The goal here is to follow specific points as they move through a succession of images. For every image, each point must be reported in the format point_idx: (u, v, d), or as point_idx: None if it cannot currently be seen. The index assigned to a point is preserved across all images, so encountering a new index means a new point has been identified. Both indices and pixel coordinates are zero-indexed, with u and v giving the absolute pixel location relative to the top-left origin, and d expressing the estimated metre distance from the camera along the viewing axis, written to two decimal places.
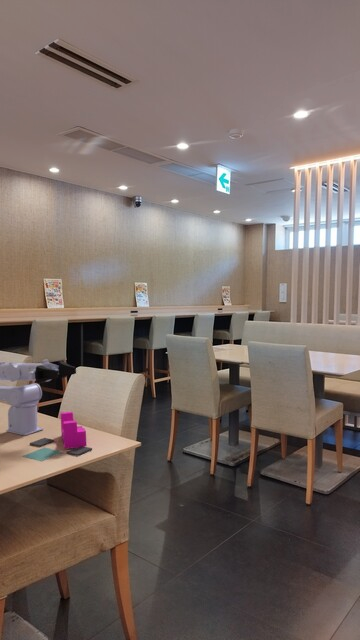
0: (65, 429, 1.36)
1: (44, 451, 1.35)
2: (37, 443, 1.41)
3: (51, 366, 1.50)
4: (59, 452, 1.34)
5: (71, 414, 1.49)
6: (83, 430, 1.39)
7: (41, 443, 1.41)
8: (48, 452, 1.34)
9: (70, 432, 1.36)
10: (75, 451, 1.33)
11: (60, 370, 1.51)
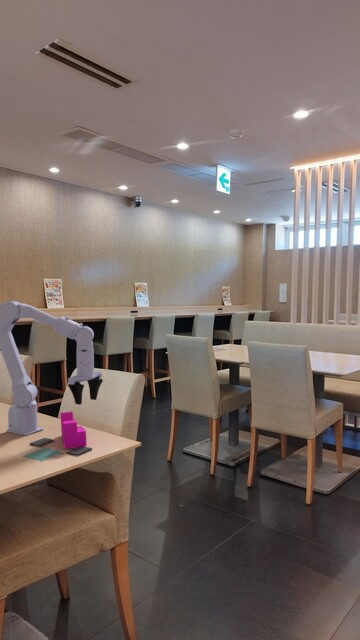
0: (65, 429, 1.36)
1: (44, 451, 1.35)
2: (37, 443, 1.41)
3: None
4: (59, 452, 1.34)
5: (71, 414, 1.49)
6: (83, 430, 1.39)
7: (41, 443, 1.41)
8: (48, 452, 1.34)
9: (70, 432, 1.36)
10: (75, 451, 1.33)
11: (92, 381, 1.59)
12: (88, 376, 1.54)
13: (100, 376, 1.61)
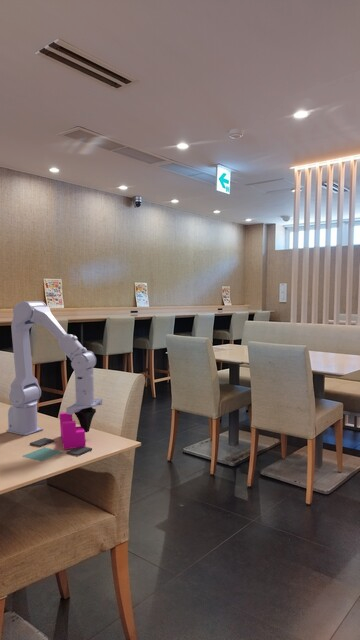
0: (64, 429, 1.36)
1: (44, 451, 1.35)
2: (37, 443, 1.41)
3: None
4: (59, 452, 1.34)
5: None
6: (82, 430, 1.38)
7: (41, 443, 1.41)
8: (48, 452, 1.34)
9: (69, 433, 1.36)
10: (75, 451, 1.33)
11: None
12: (88, 405, 1.45)
13: (100, 403, 1.53)
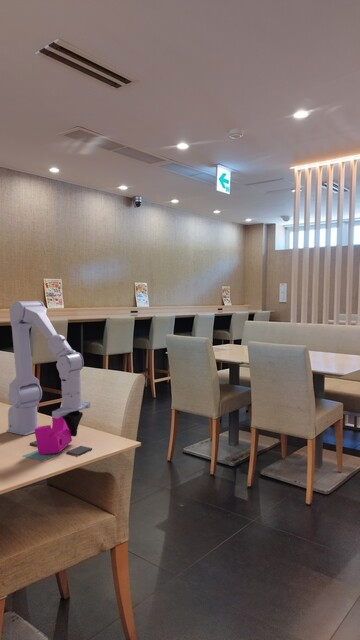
0: (37, 434, 1.32)
1: None
2: None
3: None
4: (59, 452, 1.34)
5: (62, 417, 1.44)
6: (56, 435, 1.33)
7: None
8: None
9: (42, 438, 1.32)
10: (75, 451, 1.33)
11: None
12: (74, 408, 1.39)
13: (88, 406, 1.47)
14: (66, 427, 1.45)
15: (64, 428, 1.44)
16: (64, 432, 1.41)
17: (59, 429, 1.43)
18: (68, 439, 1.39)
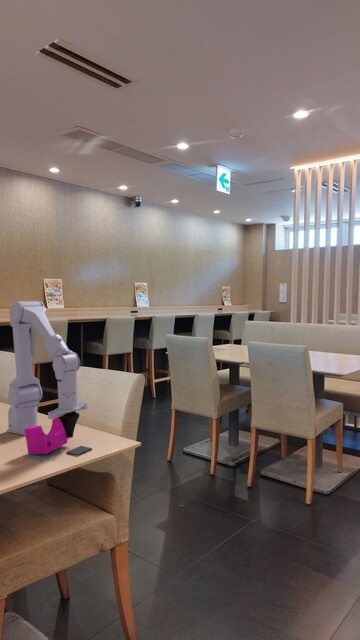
0: (26, 434, 1.32)
1: None
2: None
3: None
4: (59, 452, 1.34)
5: None
6: (44, 437, 1.31)
7: None
8: None
9: (31, 438, 1.32)
10: (75, 451, 1.33)
11: None
12: (71, 409, 1.38)
13: (85, 407, 1.46)
14: None
15: (62, 429, 1.42)
16: (59, 433, 1.39)
17: (57, 430, 1.42)
18: (61, 441, 1.37)
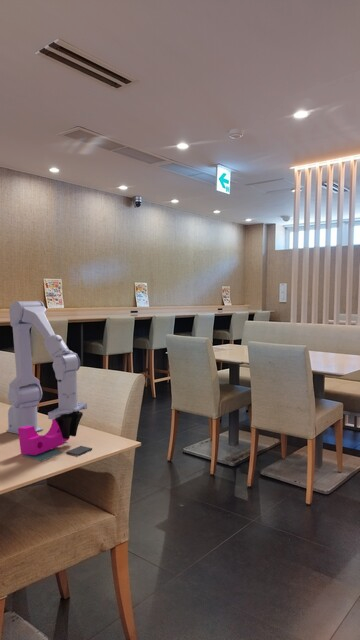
0: (19, 434, 1.33)
1: None
2: None
3: None
4: (59, 452, 1.34)
5: None
6: (35, 438, 1.31)
7: None
8: (48, 452, 1.34)
9: (23, 438, 1.32)
10: (75, 451, 1.33)
11: (71, 415, 1.42)
12: (71, 409, 1.38)
13: (85, 407, 1.46)
14: None
15: (60, 430, 1.41)
16: (55, 435, 1.38)
17: (54, 430, 1.41)
18: (55, 443, 1.36)
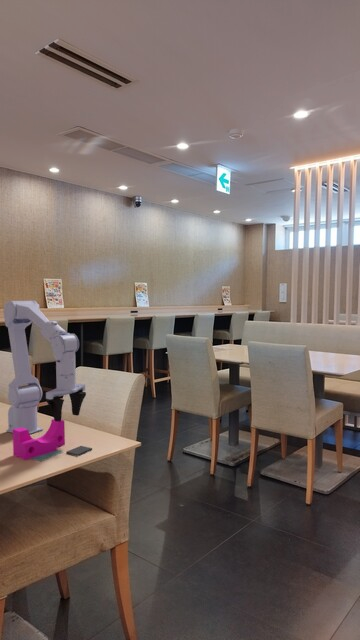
0: (13, 435, 1.32)
1: None
2: None
3: None
4: (59, 452, 1.34)
5: (57, 423, 1.40)
6: (27, 442, 1.29)
7: None
8: None
9: (16, 440, 1.31)
10: (75, 451, 1.33)
11: (75, 395, 1.44)
12: (69, 390, 1.38)
13: (83, 389, 1.45)
14: (61, 434, 1.40)
15: (56, 435, 1.39)
16: (50, 439, 1.36)
17: (51, 434, 1.39)
18: (49, 448, 1.34)
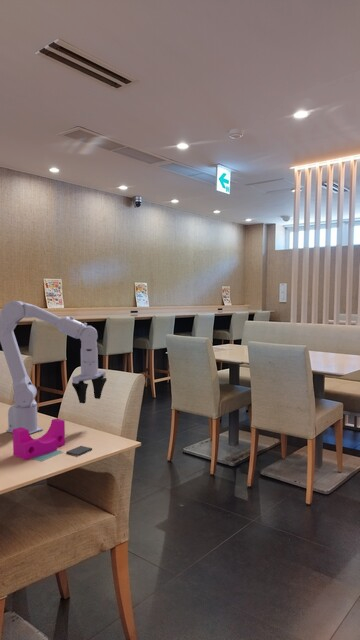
0: (13, 435, 1.32)
1: None
2: None
3: None
4: (59, 452, 1.34)
5: (57, 423, 1.39)
6: (27, 442, 1.29)
7: None
8: None
9: (16, 440, 1.31)
10: (75, 451, 1.33)
11: (96, 380, 1.61)
12: (92, 375, 1.55)
13: (104, 375, 1.63)
14: (61, 434, 1.40)
15: (56, 435, 1.39)
16: (50, 439, 1.36)
17: (51, 434, 1.39)
18: (49, 448, 1.34)
